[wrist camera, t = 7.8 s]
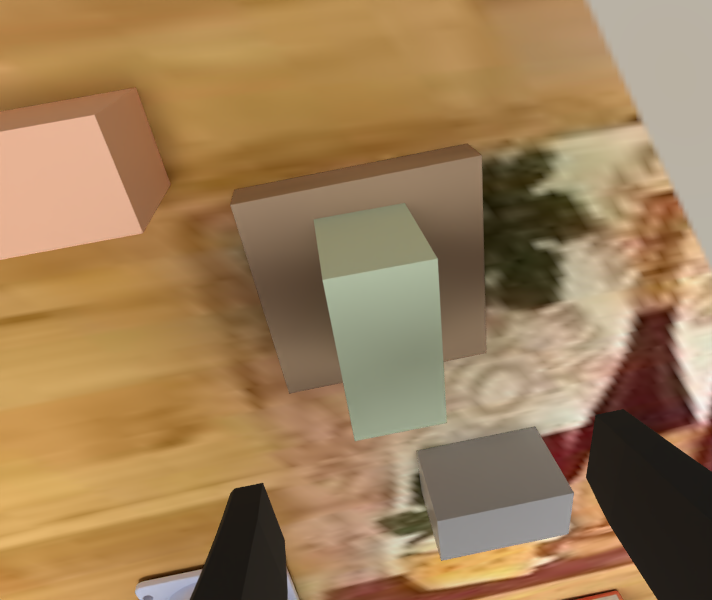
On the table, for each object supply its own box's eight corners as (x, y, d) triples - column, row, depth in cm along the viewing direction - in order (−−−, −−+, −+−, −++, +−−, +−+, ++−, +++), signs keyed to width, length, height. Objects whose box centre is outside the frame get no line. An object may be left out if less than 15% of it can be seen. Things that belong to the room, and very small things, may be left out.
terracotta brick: (136, 86, 15) (94, 114, 12) (171, 183, 16) (142, 233, 13) (-67, 122, 15) (-172, 162, 11) (-12, 216, 16) (-89, 275, 13)
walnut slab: (470, 324, 22) (486, 352, 20) (288, 361, 22) (289, 393, 20) (462, 139, 17) (481, 155, 16) (235, 184, 17) (230, 205, 16)
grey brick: (534, 424, 25) (573, 493, 22) (531, 464, 26) (568, 533, 23) (416, 449, 25) (437, 521, 21) (420, 487, 26) (441, 560, 23)
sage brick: (417, 347, 19) (446, 423, 16) (341, 362, 19) (354, 441, 16) (404, 202, 16) (437, 258, 13) (313, 219, 16) (322, 279, 13)
